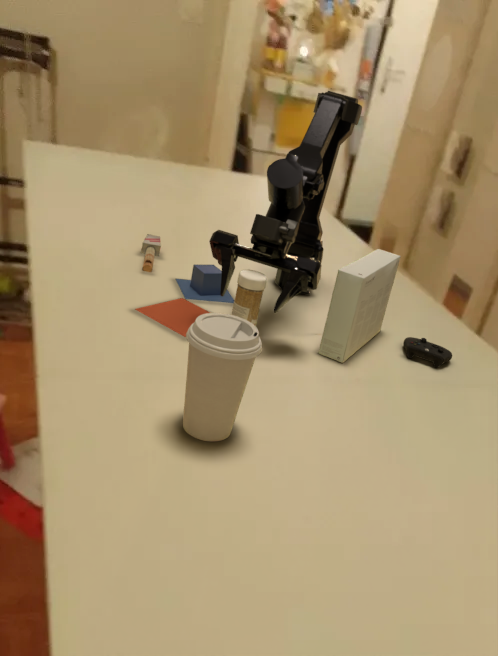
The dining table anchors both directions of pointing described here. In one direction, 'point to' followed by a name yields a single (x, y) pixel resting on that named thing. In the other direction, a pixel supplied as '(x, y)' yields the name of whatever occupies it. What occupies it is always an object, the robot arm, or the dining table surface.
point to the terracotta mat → (174, 314)
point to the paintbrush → (150, 251)
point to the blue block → (206, 279)
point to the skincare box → (358, 304)
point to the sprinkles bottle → (249, 295)
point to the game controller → (427, 351)
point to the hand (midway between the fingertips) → (247, 303)
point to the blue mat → (193, 295)
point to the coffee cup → (217, 373)
